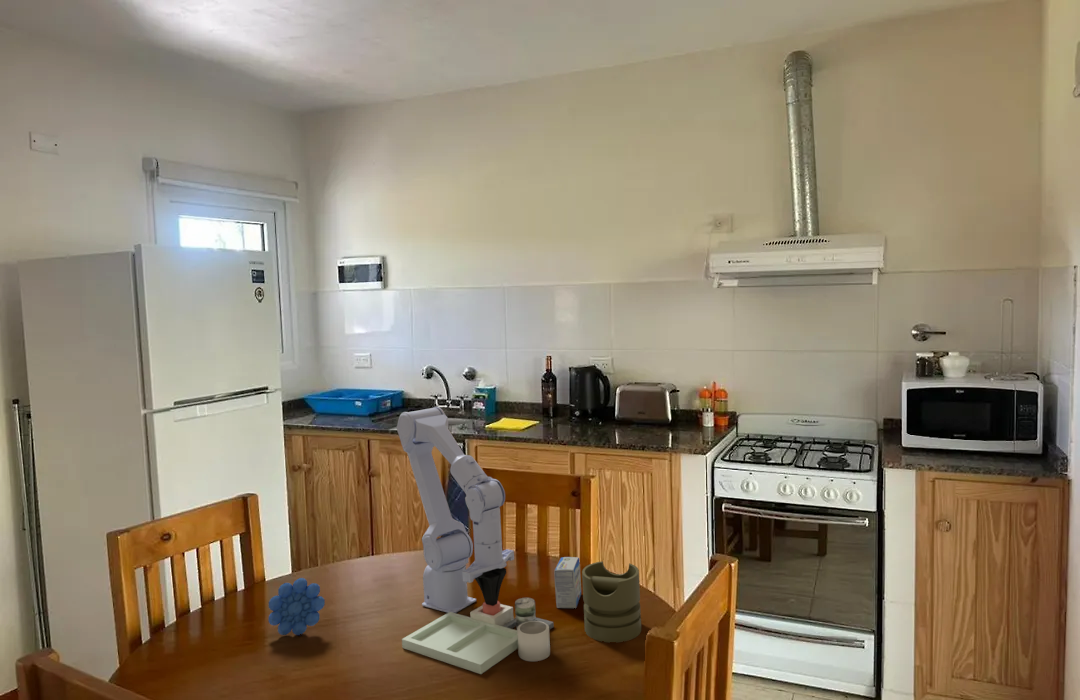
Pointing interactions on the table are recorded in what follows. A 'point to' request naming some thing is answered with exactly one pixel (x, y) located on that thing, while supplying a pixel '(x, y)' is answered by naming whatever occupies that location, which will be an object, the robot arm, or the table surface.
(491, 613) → the button
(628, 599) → the piston
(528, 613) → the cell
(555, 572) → the medicine box
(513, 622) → the cradle
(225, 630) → the table surface
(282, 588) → the blue flower
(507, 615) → the frame
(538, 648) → the cup
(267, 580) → the table surface
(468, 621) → the trough tray
